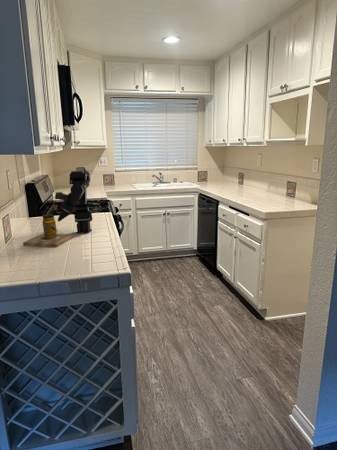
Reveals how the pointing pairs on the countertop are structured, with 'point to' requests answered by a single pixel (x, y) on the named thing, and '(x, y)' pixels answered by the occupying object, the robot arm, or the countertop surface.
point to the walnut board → (48, 241)
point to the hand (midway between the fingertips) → (59, 219)
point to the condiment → (49, 228)
